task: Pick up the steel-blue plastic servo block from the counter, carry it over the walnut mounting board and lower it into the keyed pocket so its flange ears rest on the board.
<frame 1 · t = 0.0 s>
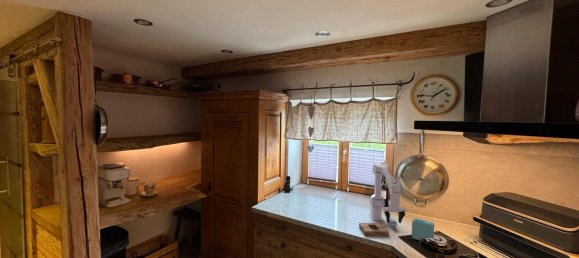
hand: (393, 222, 150), 10 cm above the worktop, fingers open, 7 cm apart
servo: (392, 227, 165), on the worktop
board: (373, 231, 158), on the worktop
data package: (422, 239, 149), on the worktop
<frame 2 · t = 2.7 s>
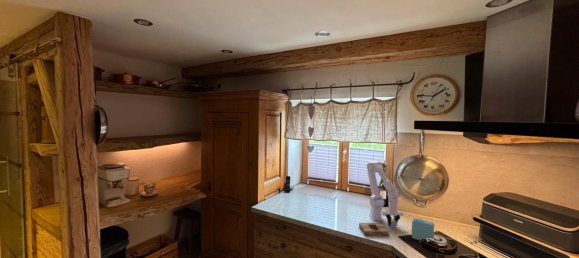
hand: (392, 225, 165), 1 cm above the worktop, fingers closed on servo, 4 cm apart
servo: (392, 226, 165), on the worktop, touching gripper
everything else where it was.
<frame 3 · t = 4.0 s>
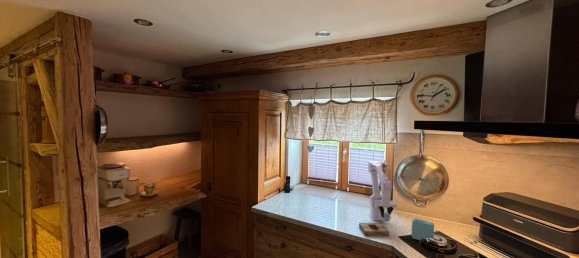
hand: (385, 217, 162), 8 cm above the worktop, fingers closed on servo, 4 cm apart
servo: (385, 219, 162), point 7 cm above the worktop, touching gripper
everything else where it was.
when the fingers open (4 cm above the worktop, at t = 5.7 s): servo drops 2 cm, resting on board.
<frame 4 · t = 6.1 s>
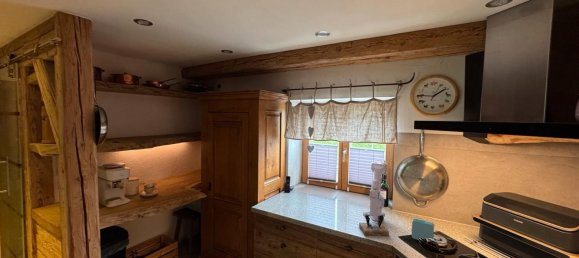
hand: (373, 226, 158), 4 cm above the worktop, fingers open, 7 cm apart
servo: (373, 231, 158), resting on board
everything else where it was.
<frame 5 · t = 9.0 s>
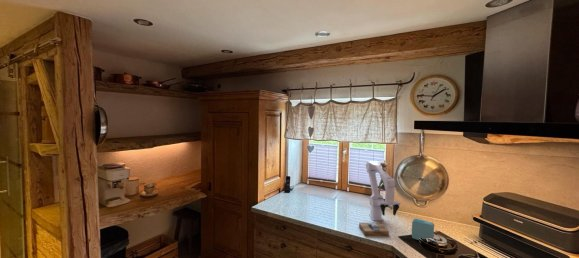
hand: (388, 214, 162), 10 cm above the worktop, fingers open, 7 cm apart
nothing on the worktop moved.
at the end: servo 0.3 cm off-centre on the board, point 0.0 cm above the board's base; servo tilted 0°; the gripper is holding nothing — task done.
